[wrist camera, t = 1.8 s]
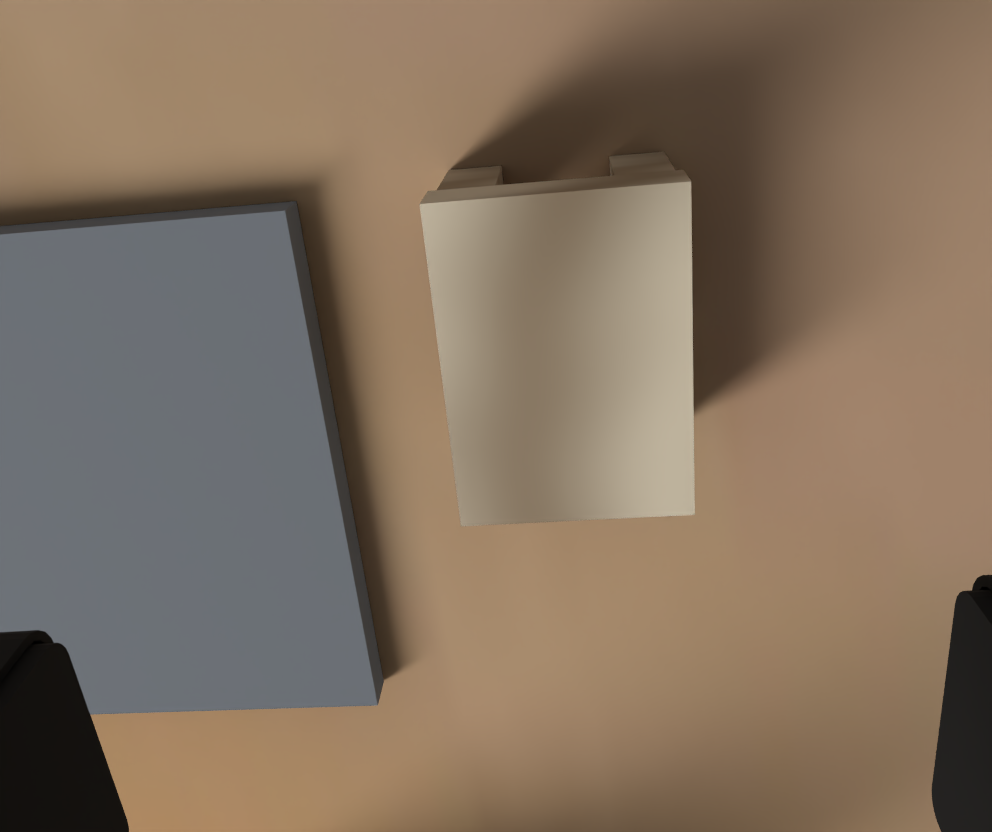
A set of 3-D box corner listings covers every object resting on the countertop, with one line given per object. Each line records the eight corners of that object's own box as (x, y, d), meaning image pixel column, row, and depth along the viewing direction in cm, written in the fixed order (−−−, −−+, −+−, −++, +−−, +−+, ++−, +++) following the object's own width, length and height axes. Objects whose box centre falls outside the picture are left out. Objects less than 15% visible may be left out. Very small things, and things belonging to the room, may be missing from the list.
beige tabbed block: (668, 146, 21) (691, 181, 17) (674, 432, 24) (694, 514, 20) (443, 166, 21) (419, 203, 18) (476, 444, 24) (460, 526, 20)
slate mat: (296, 200, 22) (285, 210, 21) (383, 681, 28) (377, 705, 27) (-185, 241, 23) (-215, 252, 22) (-5, 694, 29) (-23, 718, 28)
